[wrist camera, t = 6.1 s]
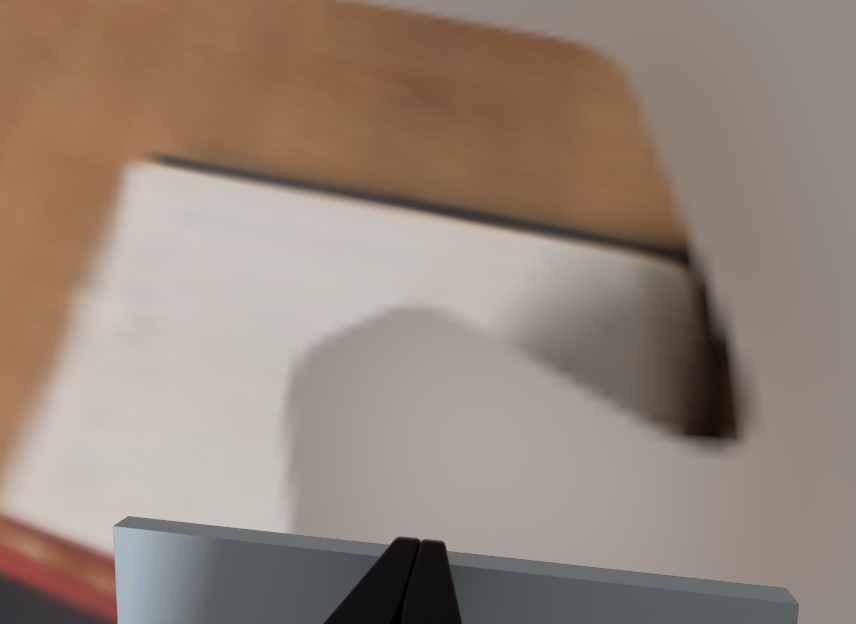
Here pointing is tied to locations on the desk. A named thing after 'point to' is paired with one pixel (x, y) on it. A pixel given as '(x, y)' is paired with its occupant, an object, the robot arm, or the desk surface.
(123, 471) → the desk surface
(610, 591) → the flap
